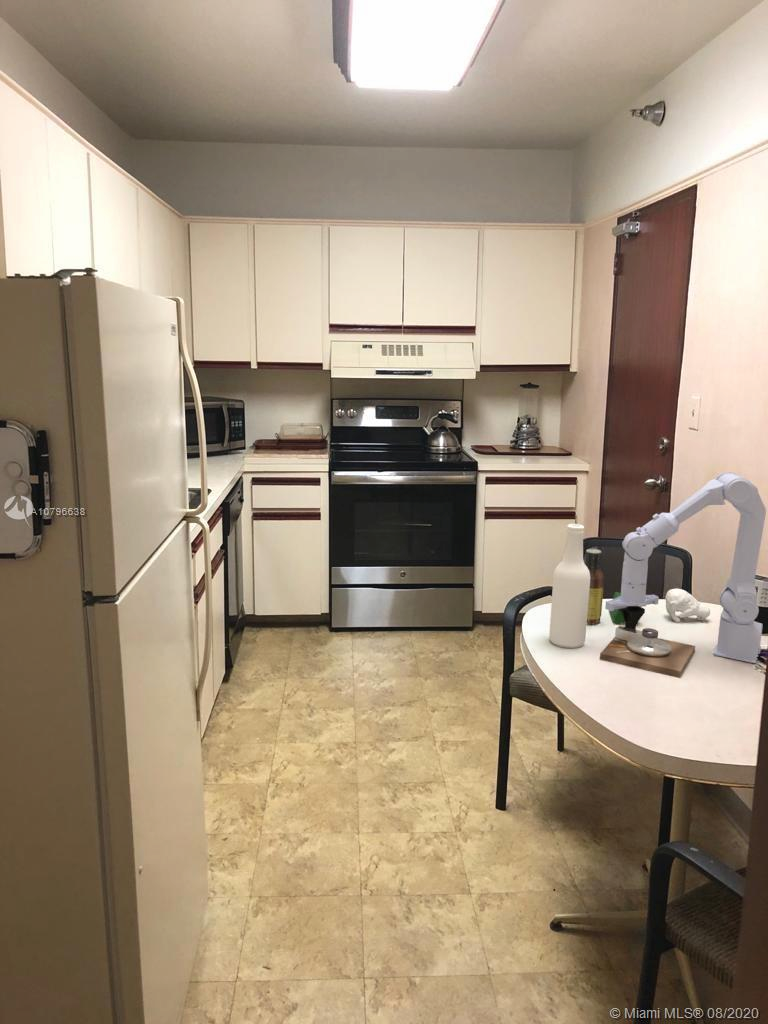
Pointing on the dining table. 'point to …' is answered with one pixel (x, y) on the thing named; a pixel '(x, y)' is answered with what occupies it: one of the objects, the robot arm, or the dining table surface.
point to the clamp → (617, 612)
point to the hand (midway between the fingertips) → (629, 634)
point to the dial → (643, 641)
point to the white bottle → (570, 593)
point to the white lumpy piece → (685, 605)
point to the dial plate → (650, 657)
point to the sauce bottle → (594, 586)
